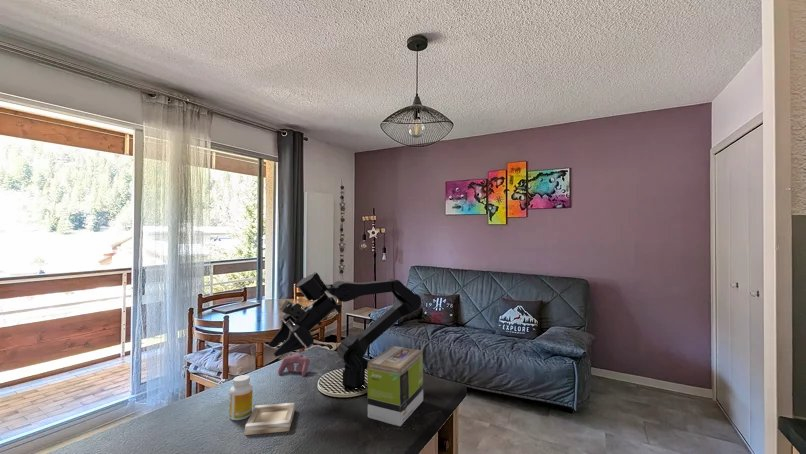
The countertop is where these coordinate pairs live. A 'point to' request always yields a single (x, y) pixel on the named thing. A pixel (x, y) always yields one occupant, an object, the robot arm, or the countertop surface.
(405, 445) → the countertop surface
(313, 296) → the robot arm
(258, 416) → the recess plate
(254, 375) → the countertop surface
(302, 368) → the pink legged piece
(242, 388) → the supplement bottle
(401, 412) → the tea box
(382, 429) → the countertop surface
